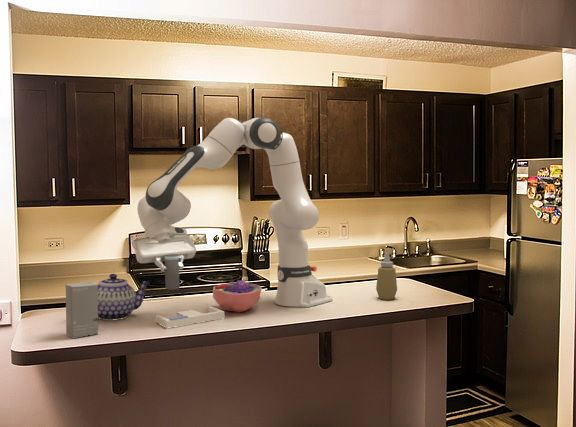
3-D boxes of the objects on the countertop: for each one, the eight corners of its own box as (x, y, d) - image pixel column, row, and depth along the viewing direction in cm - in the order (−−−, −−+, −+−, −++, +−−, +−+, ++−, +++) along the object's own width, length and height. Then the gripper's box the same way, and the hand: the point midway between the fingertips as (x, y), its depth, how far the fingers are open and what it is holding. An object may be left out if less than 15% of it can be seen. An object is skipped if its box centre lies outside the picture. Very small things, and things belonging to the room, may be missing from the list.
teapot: (75, 326, 194) (74, 280, 193) (74, 314, 208) (73, 272, 207) (154, 318, 203) (152, 275, 201) (148, 308, 217) (147, 267, 216)
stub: (176, 286, 199) (175, 253, 198) (182, 288, 195) (181, 255, 194) (162, 287, 196) (162, 254, 195) (168, 290, 192) (168, 256, 191)
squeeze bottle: (397, 301, 226) (397, 254, 225) (375, 300, 227) (376, 254, 226) (396, 296, 234) (397, 251, 233) (376, 295, 235) (376, 250, 234)
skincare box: (72, 339, 179) (70, 287, 178) (65, 333, 185) (63, 283, 184) (100, 334, 184) (98, 284, 183) (92, 329, 190) (91, 280, 189)
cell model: (250, 302, 226) (250, 272, 225) (268, 314, 208) (268, 282, 207) (206, 306, 220) (206, 276, 219) (221, 319, 202) (221, 286, 201)
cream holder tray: (212, 313, 209) (212, 305, 209) (224, 318, 202) (224, 310, 202) (156, 323, 197) (156, 314, 197) (166, 328, 190) (166, 319, 190)
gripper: (132, 232, 194) (145, 266, 187) (190, 228, 205) (203, 260, 198) (128, 244, 198) (140, 278, 191) (184, 240, 209) (197, 271, 202)
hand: (172, 269), depth 195 cm, fingers closed on stub, 4 cm apart
